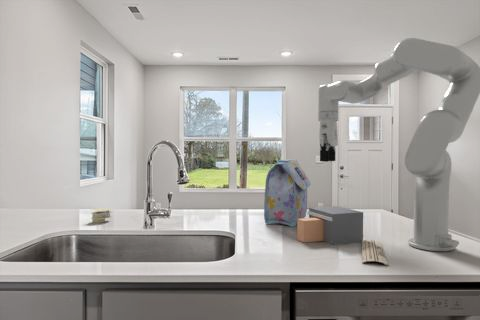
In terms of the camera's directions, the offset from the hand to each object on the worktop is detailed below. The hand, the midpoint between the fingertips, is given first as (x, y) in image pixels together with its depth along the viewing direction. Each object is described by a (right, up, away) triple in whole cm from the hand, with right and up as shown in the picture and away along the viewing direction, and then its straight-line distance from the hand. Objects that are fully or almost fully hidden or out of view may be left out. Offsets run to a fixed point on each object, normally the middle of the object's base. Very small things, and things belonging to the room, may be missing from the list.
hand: (327, 161), depth 135 cm
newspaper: (+5, -28, -34) cm, 44 cm away
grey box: (-2, -26, -16) cm, 31 cm away
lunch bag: (-13, -26, +14) cm, 33 cm away
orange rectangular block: (-6, -26, -17) cm, 32 cm away
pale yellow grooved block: (-93, -26, +12) cm, 97 cm away
